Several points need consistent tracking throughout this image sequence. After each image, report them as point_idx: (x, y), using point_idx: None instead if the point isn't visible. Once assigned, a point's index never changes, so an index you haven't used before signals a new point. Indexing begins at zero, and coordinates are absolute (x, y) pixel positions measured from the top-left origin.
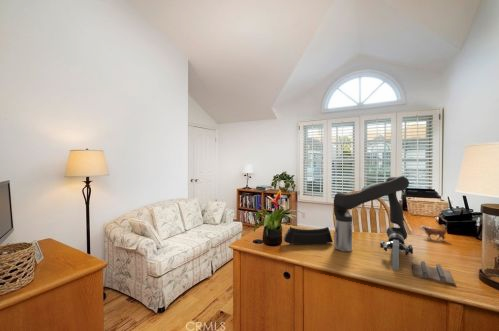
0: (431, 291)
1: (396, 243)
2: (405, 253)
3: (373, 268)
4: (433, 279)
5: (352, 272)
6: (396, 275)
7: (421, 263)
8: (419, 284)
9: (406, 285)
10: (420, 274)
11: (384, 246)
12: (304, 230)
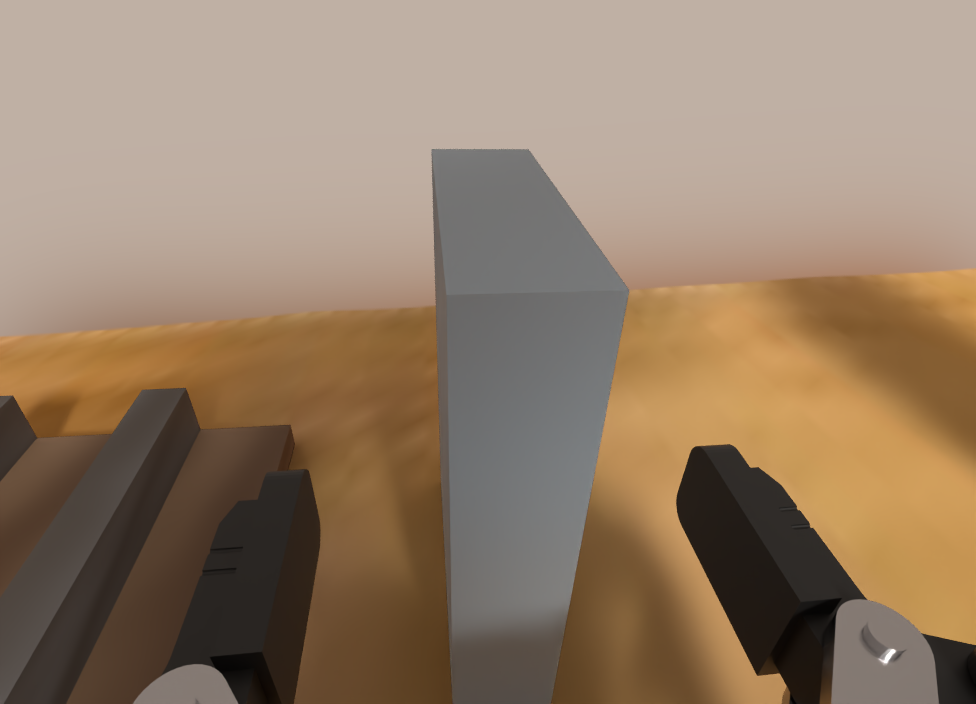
0: (229, 320)
1: (480, 176)
2: (313, 502)
3: (654, 394)
4: (106, 440)
5: (715, 292)
6: None
7: (21, 690)
8: (285, 353)
9: (381, 311)
10: (215, 448)
11: (792, 521)
12: None
